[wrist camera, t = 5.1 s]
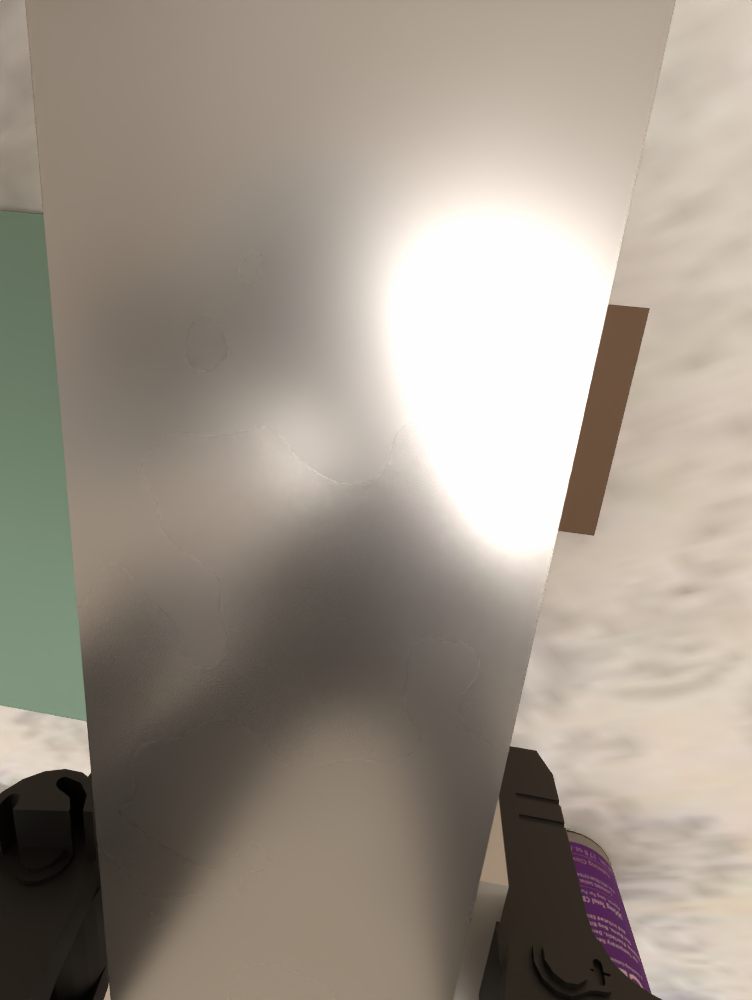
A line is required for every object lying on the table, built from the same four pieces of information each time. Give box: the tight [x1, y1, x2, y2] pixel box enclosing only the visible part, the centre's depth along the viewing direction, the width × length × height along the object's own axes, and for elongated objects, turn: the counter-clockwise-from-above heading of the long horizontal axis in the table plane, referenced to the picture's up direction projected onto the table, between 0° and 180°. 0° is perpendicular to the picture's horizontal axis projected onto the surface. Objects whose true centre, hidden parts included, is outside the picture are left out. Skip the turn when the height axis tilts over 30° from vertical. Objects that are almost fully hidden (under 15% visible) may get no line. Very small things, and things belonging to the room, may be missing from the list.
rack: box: [558, 305, 650, 535], centre depth 14 cm, size 7×21×12 cm, turn 175°
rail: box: [25, 0, 676, 1000], centre depth 8 cm, size 4×20×5 cm, turn 174°
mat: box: [0, 211, 87, 721], centre depth 21 cm, size 12×21×1 cm, turn 175°
